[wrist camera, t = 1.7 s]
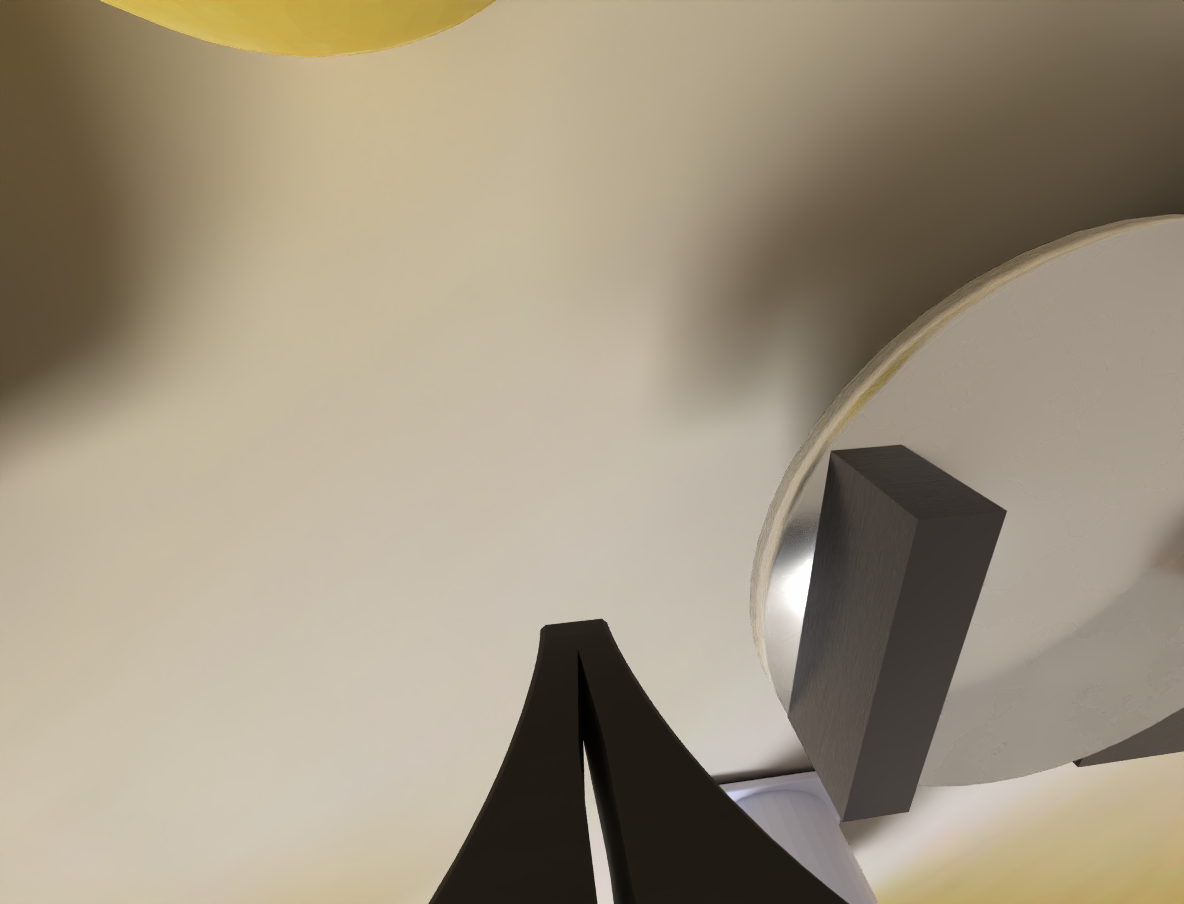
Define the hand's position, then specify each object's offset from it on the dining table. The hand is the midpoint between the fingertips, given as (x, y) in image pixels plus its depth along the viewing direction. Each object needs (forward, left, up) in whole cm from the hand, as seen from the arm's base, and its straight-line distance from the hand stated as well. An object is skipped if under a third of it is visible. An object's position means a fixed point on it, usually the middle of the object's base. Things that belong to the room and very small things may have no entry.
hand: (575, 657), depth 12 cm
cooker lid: (0, -13, -2) cm, 13 cm away
